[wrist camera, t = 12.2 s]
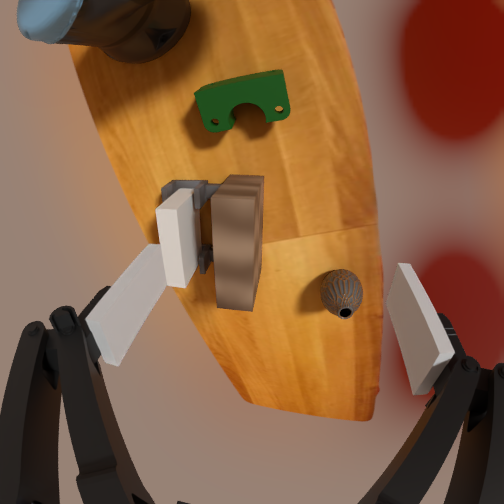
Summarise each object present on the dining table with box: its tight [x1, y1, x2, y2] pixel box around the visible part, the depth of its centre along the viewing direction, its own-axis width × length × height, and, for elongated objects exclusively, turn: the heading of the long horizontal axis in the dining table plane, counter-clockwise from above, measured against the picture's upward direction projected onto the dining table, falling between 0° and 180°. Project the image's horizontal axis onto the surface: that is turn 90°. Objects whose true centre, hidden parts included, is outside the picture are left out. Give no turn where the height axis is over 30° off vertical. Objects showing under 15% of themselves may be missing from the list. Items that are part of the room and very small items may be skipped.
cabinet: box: [161, 175, 264, 312], centre depth 42 cm, size 16×14×11 cm
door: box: [156, 188, 202, 288], centre depth 43 cm, size 12×4×9 cm, turn 179°
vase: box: [321, 269, 363, 319], centre depth 45 cm, size 7×7×9 cm
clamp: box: [194, 70, 290, 132], centre depth 34 cm, size 12×6×9 cm, turn 95°
